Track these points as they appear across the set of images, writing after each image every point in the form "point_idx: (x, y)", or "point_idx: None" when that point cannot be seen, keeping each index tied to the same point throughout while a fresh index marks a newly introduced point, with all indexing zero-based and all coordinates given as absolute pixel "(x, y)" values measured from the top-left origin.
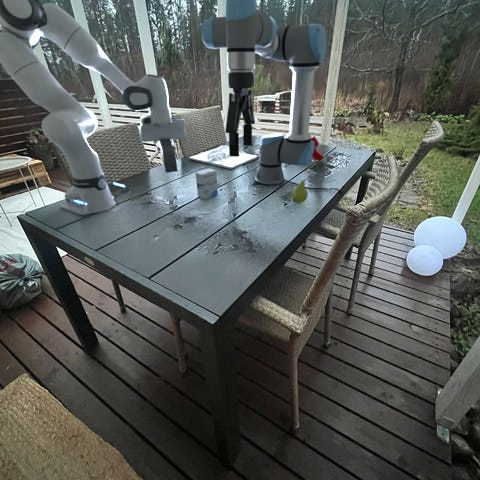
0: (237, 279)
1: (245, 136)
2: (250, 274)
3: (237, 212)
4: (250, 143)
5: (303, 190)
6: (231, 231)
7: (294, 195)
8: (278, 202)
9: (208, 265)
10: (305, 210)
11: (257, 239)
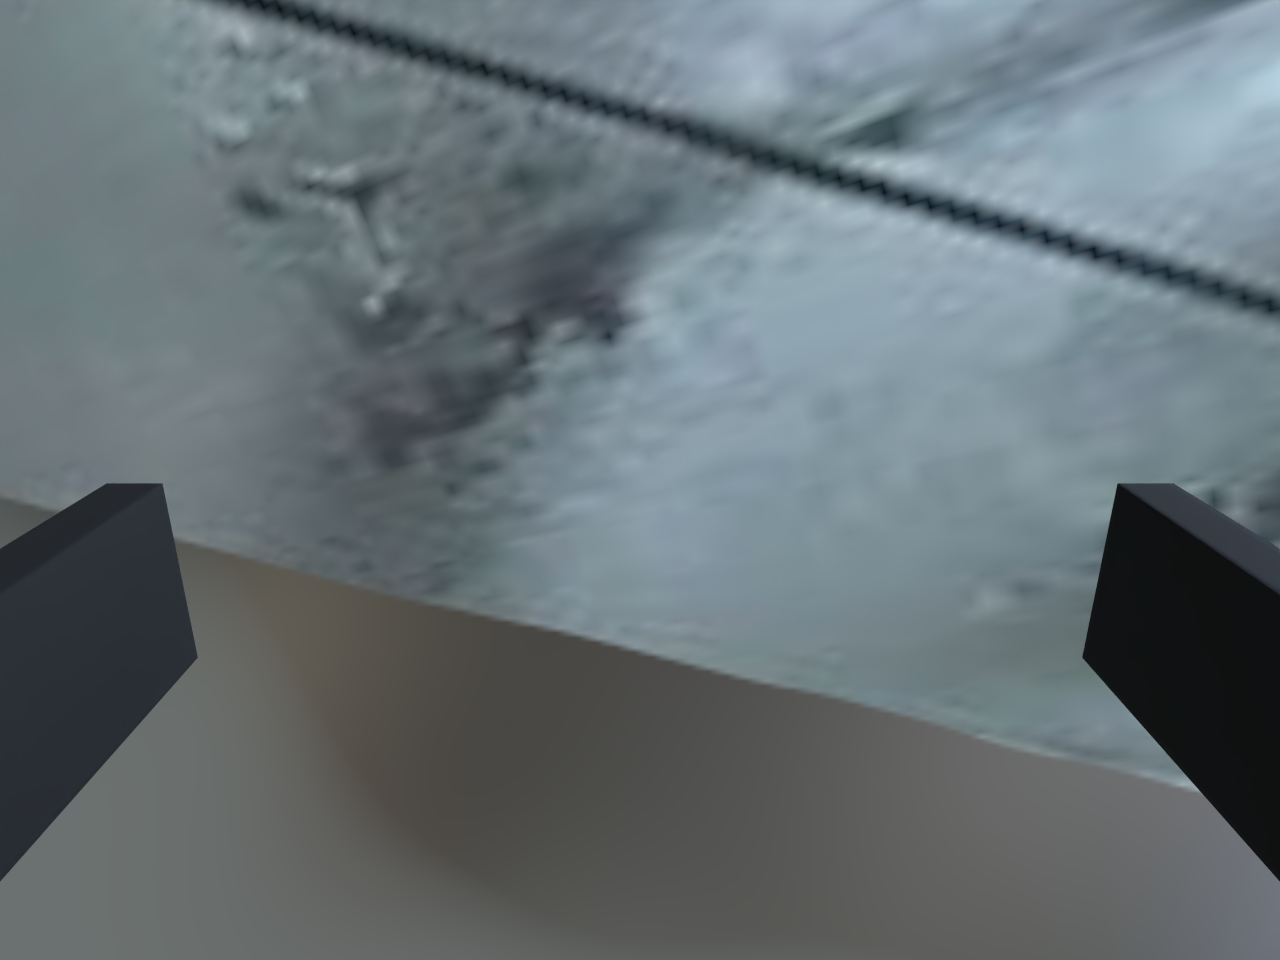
0: (77, 444)
1: (1238, 641)
2: None
3: (941, 142)
4: (1109, 671)
5: None
6: (585, 211)
7: None
8: (1211, 459)
9: (101, 215)
10: (1076, 680)
11: (540, 442)
